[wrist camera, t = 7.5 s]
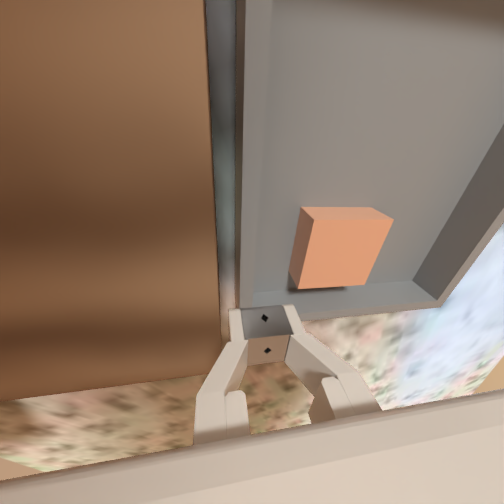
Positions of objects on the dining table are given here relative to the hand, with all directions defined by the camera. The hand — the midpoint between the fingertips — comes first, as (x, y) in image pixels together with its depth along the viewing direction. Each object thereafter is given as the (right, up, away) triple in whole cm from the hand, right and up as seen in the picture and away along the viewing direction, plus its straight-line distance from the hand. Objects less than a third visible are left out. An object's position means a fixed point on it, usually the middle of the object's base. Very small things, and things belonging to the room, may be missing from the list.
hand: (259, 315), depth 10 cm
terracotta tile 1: (+7, +3, +6) cm, 9 cm away
